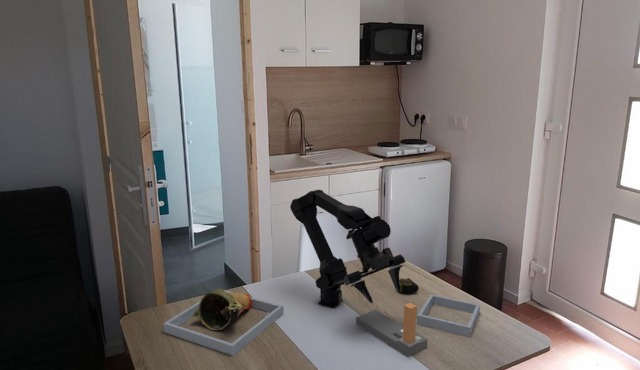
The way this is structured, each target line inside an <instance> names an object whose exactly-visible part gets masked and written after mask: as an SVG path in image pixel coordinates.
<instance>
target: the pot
mask: <svg viewBox="0 0 640 370" xmlns="http://www.w3.org/2000/svg"><path fill="white" fill-rule="evenodd" d="M226 291H227V290H226ZM226 291H225V289H221V288H219V289H214V290H212V291H209V292H207V293H206V294H205V295H203V297H202V298H201V300H200V301H199V302H200V304H199V308H198V309H197V311H196V312H195V313H194V314H193V317H194V318H196V319H199V321H201V323H202V324H203V325H204V326H205V327H206V328H208V329H209V330H214V331H215V330H216V331H219V330H223V329H225V328H226V327H228V326H229V325H230V324H232V322H233V320H234V319H235V317H239V315H240V314H241V313H242V312H244V310H250V309H251V308H252V307H251V305H252V301H251V298H250V297H251V296H250V295H249V294H247V293H241V292H233V293H229V292H230V291H229V292H226ZM226 309H228V312H229V314H230V317H229V318H227V317H226V316H225V314H224V312H223V311H224V310H226ZM215 326H218V327H215Z"/></svg>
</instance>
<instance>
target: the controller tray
mask: <svg viewBox="0 0 640 370" xmlns="http://www.w3.org/2000/svg"><path fill="white" fill-rule="evenodd" d="M433 305H435V306H439V307H444V308H449V309H452V310H453V309H454V310H458V311H462V312H465V313H466V312H467V313H471V314H472V315H471V317H470V319H469V321H468V324H463V323H458V322H454V321H451V320H450V321H449V320H445V319H441V318H438V317H434V316H433V317H432V316H428V315H427V314H428V313H429V311H430V310H431V307H432V306H433ZM480 310H481V304H479V303H474V302H469V301H465V300H460V299H456V298H451V297H446V296H442V295H436V294H432V293H431V294H430V295H429V296H428V298H427V299H426V301H425V303H424V304H423V305H422V307H421V309H420V310H419V311H418V314H416V325H419V326H424V327H428V328H431V329H435V330H439V331H443V332H449V333H452V334H456V335H460V336H464V337H469V338H470V337H471V335H472V333H473V330H474V327H475V325H476V322H477V320H478V317H479V315H480Z"/></svg>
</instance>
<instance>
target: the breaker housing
mask: <svg viewBox="0 0 640 370" xmlns="http://www.w3.org/2000/svg"><path fill="white" fill-rule="evenodd" d="M355 325H356V326H358V327H360V328H361V329H363V330H364V331H365V332H368V333H369V334H370V335H372V336H374V337H375V338H377V339H379V340H380V341H381V342H383V343H384V344H386V345H388V346H389V347H391V348H392V349H394V350H396V351H397V352H399V353H401V354H402V355H404V356H405V357H407V358H408V357H410V356H413V355H414V354H417V353H419V352H420V351H422V350H424V349H426V348H428V340H429V339H428V338H426V337H425V336H423V335H421V334H419V333H417V332H416V333H415V338H416V339H418V340H419V341H420V343H418V344H416V345H414V346H412V347H410V348H409V347H407V346H405V345H404V344H402V343H401V342H399V341H398V339H400V338H402V337H403V324H401V323H400V322H398V321H396V320H395V319H393V318H391V317H389V316H388V315H386V314H384V313H382V312H380V311H378V310H377V309H373V310H371V311H368V312H365V313H364V314H360V315H357V316H356V317H355Z"/></svg>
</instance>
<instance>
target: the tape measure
mask: <svg viewBox="0 0 640 370" xmlns="http://www.w3.org/2000/svg"><path fill="white" fill-rule="evenodd" d="M399 284H400V292H399V293H402V294H405V295H408V294H412V293H417V292H419V289H420V288H419V285H418V284H417V283H415V282H414V281H413V280H412V279H411V278H399Z"/></svg>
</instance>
